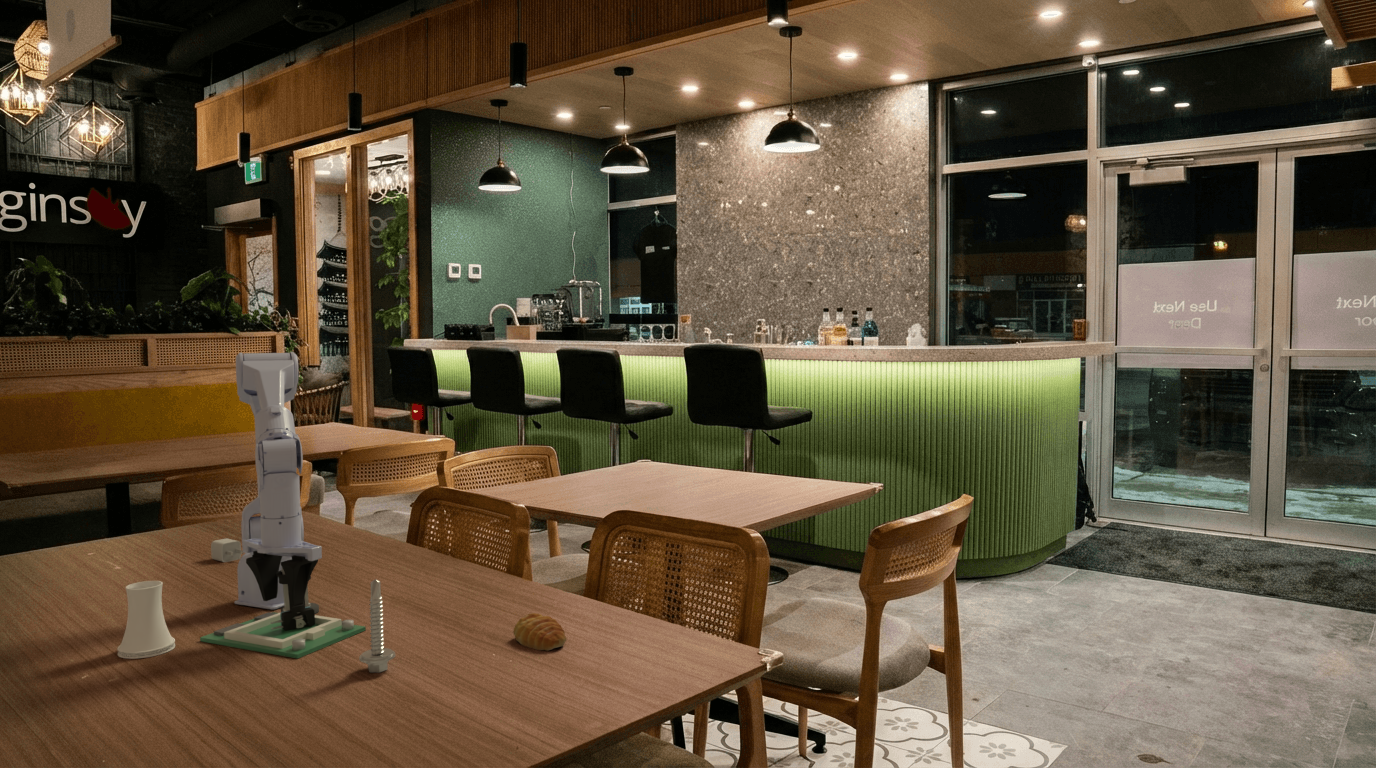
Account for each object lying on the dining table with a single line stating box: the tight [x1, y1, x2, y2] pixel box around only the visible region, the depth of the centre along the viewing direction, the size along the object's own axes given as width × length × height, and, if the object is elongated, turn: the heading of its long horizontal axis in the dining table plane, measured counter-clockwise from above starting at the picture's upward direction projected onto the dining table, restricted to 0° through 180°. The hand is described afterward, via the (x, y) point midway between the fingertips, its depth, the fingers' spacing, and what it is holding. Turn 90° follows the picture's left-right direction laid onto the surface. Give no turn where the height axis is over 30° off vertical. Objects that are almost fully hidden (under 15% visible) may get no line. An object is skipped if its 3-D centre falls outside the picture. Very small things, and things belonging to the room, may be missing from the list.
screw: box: [358, 578, 396, 674], centre depth 132 cm, size 13×5×5 cm
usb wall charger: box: [210, 538, 244, 563], centre depth 196 cm, size 4×7×4 cm, turn 54°
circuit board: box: [199, 611, 367, 659], centre depth 147 cm, size 20×14×2 cm
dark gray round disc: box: [280, 602, 320, 615], centre depth 159 cm, size 6×6×1 cm
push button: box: [270, 568, 316, 631], centre depth 149 cm, size 7×5×10 cm
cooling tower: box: [116, 580, 176, 660], centre depth 141 cm, size 8×8×10 cm
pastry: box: [512, 612, 567, 652], centre depth 144 cm, size 9×7×4 cm
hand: (283, 601), depth 147 cm, fingers closed on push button, 5 cm apart
